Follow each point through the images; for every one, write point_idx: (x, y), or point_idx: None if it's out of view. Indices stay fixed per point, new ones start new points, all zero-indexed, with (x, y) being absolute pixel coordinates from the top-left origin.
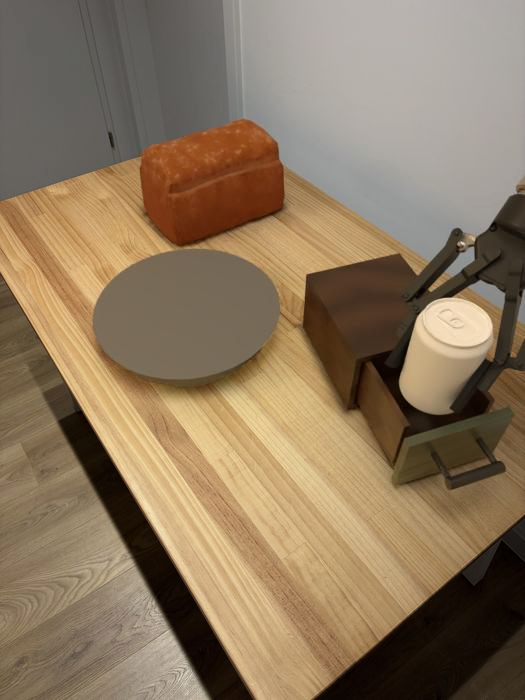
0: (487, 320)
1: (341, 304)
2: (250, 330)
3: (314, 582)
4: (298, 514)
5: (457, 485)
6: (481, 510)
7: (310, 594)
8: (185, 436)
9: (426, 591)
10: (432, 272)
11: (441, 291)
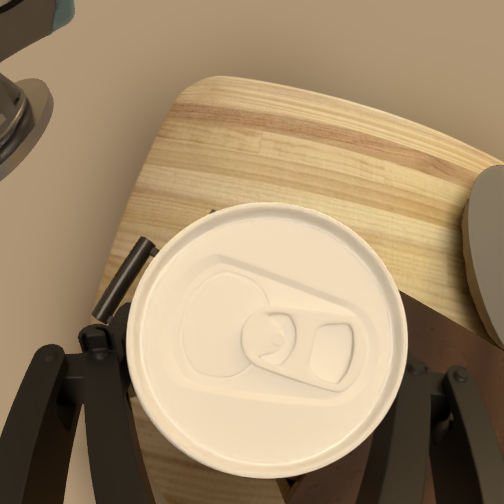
0: (181, 435)
1: (483, 372)
2: (498, 287)
3: (226, 134)
4: (283, 168)
5: (135, 244)
6: (121, 305)
7: (222, 126)
8: (421, 169)
9: (136, 189)
10: (478, 462)
11: (408, 443)
